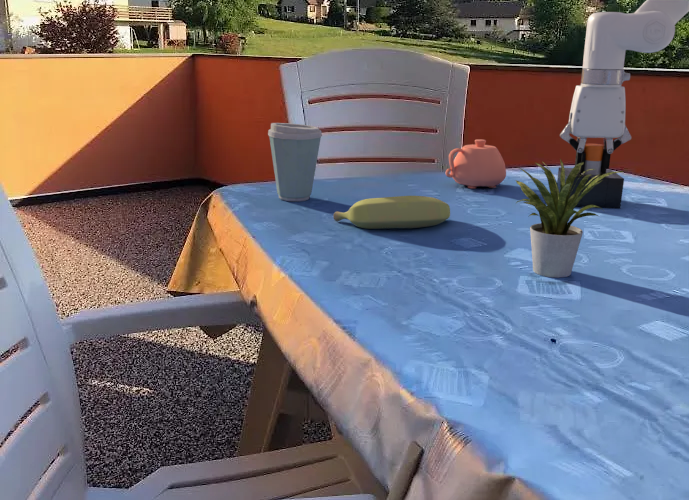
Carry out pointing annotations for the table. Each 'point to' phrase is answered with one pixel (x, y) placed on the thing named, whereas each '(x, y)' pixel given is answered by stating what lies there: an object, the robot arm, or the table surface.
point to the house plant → (557, 221)
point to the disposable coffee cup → (294, 159)
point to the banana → (396, 212)
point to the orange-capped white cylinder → (593, 158)
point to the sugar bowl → (477, 165)
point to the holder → (598, 189)
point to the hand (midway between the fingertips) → (591, 171)
